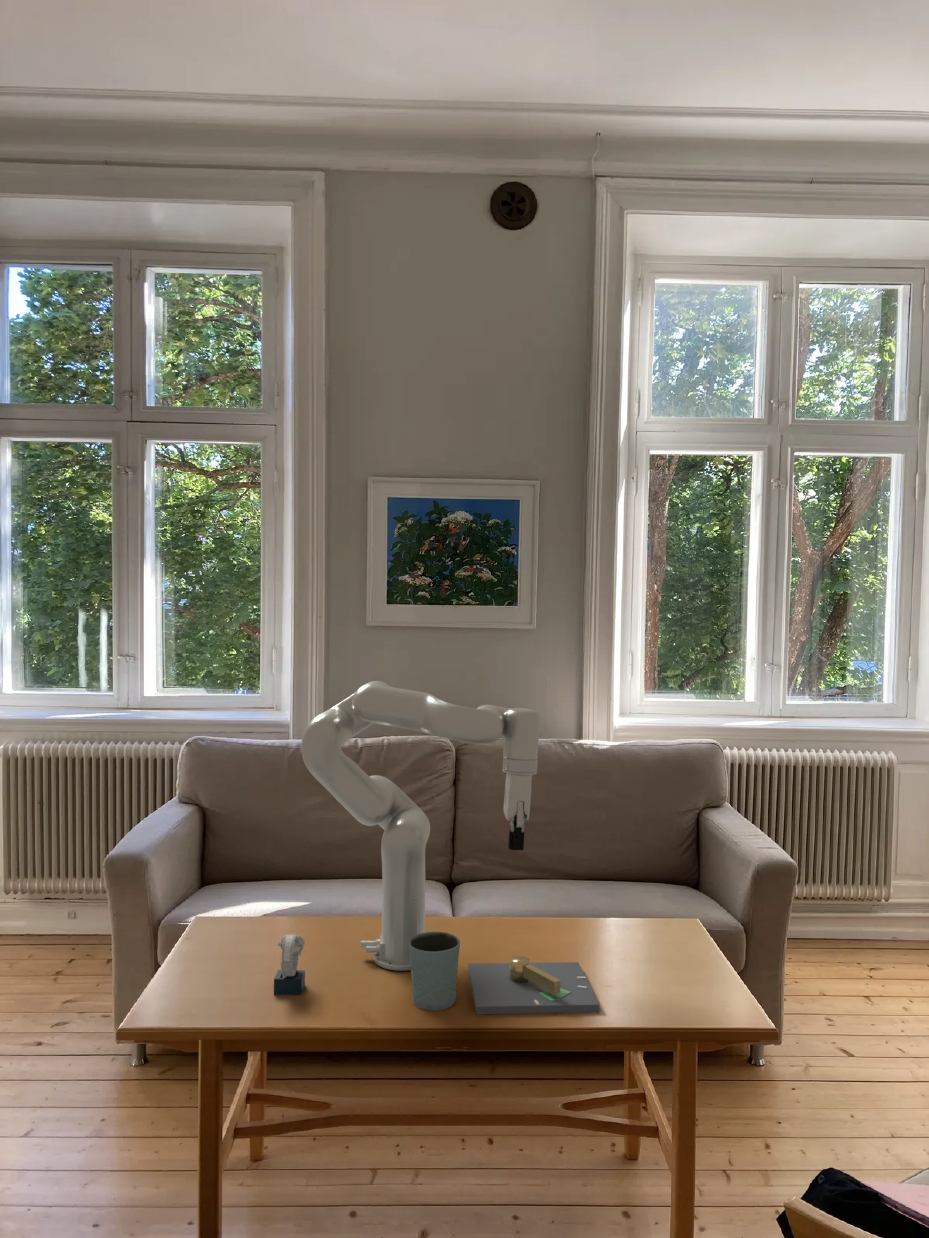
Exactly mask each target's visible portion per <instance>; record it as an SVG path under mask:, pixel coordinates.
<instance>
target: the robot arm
mask: <svg viewBox="0 0 929 1238" xmlns="http://www.w3.org/2000/svg"><path fill="white" fill-rule="evenodd" d="M539 713H540V712H538V711H537V710H535V709H533V708H526V707H512V708H511V707H510V708H509V707H505V706H500V705H499V706H498V705H494V704H482V705H480V706H478V707H477V708H475V707H470V706H463V705H459V704H454V703H450V702H447V701H445V700H441V699H440V698H438V697H436V696H435V695H433V694H430V693H428V692H425V691H417V690H411V689H404V688H398V687H392V686H390V685H389V684H388V683H386V682H383V681H380V680H373V681H369V682H367V683H365V684H363V685H362V686H360V687H358V689H357V690H356V691H355V692H354V693H353V694H351V695H349V696H348V697H346V698H345V699H343V700H342V701H340V702H339V703H337V704H336V705H334V706H332V707H331V708H329V709H327V710H325V711H324V712H321V713H319V714H318V715H316V716H315V717H313V718H312V719H311V720H310V721H309V723H308V724H307V726H306V727H305V730H304V732H303V735H302V739H301V745H300V746H301V748H300V749H301V750H300V751H301V756H302V760H303V762H304V763H303V764H304V765H305V767H306V768H307V770H308V772H309V773H310V774H311V775H312V776H313V778H315V779H316V781H317V782H319V784H320V785H321V786H323V788H325V790H326V791H327V792H329V793H330V795H332V797H333V798H334V799H335V800H336V801H337V803H339V804H340V805H341V806H342V807H343V808H344V809H345V810H346V811H347V812H348V813H349V814H350V815H351V816H352V817H353V818H354V819H355V820H356V821H357V822H358V823H360V824H361V825H364V826H367V827H373V826H377V825H378V826H379V827H380V828H381V829H383V830H384V831H383V834H382V837H381V843H380V846H381V847H380V854H381V855H380V856H381V876H382V877H381V878H382V880H381V882H382V883H381V934H380V935H379V938H375V940H369V939H366V940H365V939H363V940H362V939H361V940H360V950H361V951H362V950H365V953H367V954H368V953H369V954H371V953H372V954H373V953H374V954H373V961H374V963H375V964H376V965H378V966H379V967H380V968H383V969H385V970H390V971H398V972H400V971H401V972H402V971H403V972H407V971H412V969H411V964H410V953H409V940H410V939H411V938H412V937H413V936H415V935H417V934H421V933H426V926H425V925H426V847H427V843H428V840H429V837H430V834H431V823H430V820H429V818H428V816H427V815H426V814H425V812H424V811H423V810H422V809H421V807H419V806H418V804H416V803H415V802H414V801H413V800H412V799H411V798H410V796H408V795H407V794H406V793H405V792H404V791H403V790H402V789H401V788H400V787H399V786H398V785H396V783H394V782H393V781H392V780H391V779H389V778H387V777H386V776H383V775H375V774H374V775H370V776H369V775H368V773H366V772H365V771H364V770H363V769H362V768H361V767H360V766H359V765H358V764H357V763H356V762H355V761H354V760H352V758H350V757H349V756H348V755H346V754H345V752H343V749H342V746H343V745H344V744H346V743H347V742H349V741H350V740H351V739H352V738H354V737H356V736H357V735H358V734H359V735H360V733H361V732H363V731H365V730H366V729H368V728H369V727H372V725H374V724H376V725H382V726H387V727H392V728H393V727H394V728H399V729H405V730H410V731H416V732H420V733H424V734H427V735H431V736H436V737H440V738H443V739H447V740H451V741H457V742H460V743H461V742H462V743H468V744H474V745H481V746H485V745H493V744H494V743H496V742H497V741H499V739H500V738H503V752H502V753H503V755H502V772H503V773H505V775H506V776H505V784H504V785H505V786H504V797H503V798H504V799H503V814H504V817H505V819H506V820H507V821H509V829H508V843H507V844H508V845H507V846H508V850H510V851H523V850H524V845H525V822H526V821H528V820H530V812H531V800H532V780H533V779H532V776H534V775H537V774H538V761H539V760H538V758H539V741H540V739H539V738H540V723H541V722H540V719H541V717H540V714H539Z"/></svg>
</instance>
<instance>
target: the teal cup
mask: <svg viewBox="0 0 929 1238" xmlns="http://www.w3.org/2000/svg"><path fill="white" fill-rule="evenodd" d="M460 947H461V940H460V939H459V938H458V936H456V935H454V934H451V933H450V932H449V933H448V932H444V931H425V933H421V934H417V935H415V936H413V937H412V938H411V939H410V940H409V953H410V964H411V969H412V970H410V975H411V976H410V978H411V985H412V986H411V989H412V990H411V991H412V993H411V994H412V995H411V996H412V1001H413V1004H414V1005H415V1006H416V1007H418V1008H419V1009H423V1010H427V1011H441V1010H446V1009H449V1008H451V1007H453V1006H454V1004H455V1002H456V1001H457V1000H456V998H457V985H458V983H457V979H458V970H459V969H458V967H459V957H460Z"/></svg>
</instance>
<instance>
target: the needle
mask: <svg viewBox="0 0 929 1238" xmlns="http://www.w3.org/2000/svg"><path fill="white" fill-rule="evenodd" d="M509 963H510V979H511V980H512V981H515V982H526V981H528V980H529V981H531V982H533V983H534V984H536V985H538V986H540V987H542V988H543V989H545V990H547V991H549V992H551V993H553V994H557V993H560V981H561V980H559V979H557V978H555V977H553V976H551V975H550V974H548V973H546V972H544V971H542V970H540V969H538V968H536V967H534V966H532V965H531V964H529V963H530V958H528V957H526V956H523V955H513V956H512V957H510V958H509Z"/></svg>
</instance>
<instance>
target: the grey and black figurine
mask: <svg viewBox="0 0 929 1238" xmlns="http://www.w3.org/2000/svg"><path fill="white" fill-rule="evenodd" d="M304 946H305V939H304V938H303V937H302V936H301V935H299V934H296V933H288V934H287V933H286V934H284V935H282V937H281V938H280V941H278V943H277V947H280V949H281V962H280V969H278V970H277V972H276V974H275V976H274V978H273V995H274V996H275V995H276V996H277V995H278V996H279V995H281V996H282V995H284V996H285V995H288V996H289V995H290V996H292V995H294V996H300V995H301V996H302V995H303V991H304V989H305V986H306V970H305V969H298V963H299V957H300V956H301V954H302V951H303V949H304Z"/></svg>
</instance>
